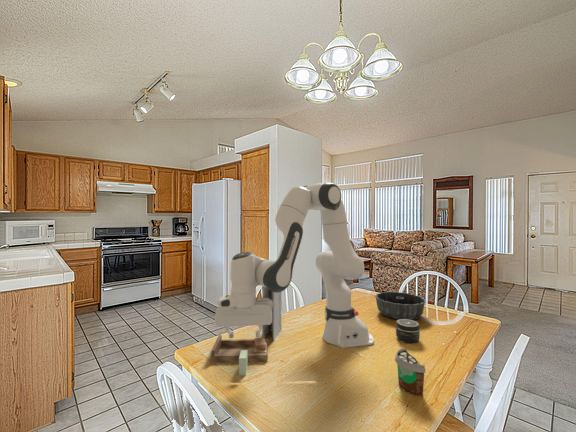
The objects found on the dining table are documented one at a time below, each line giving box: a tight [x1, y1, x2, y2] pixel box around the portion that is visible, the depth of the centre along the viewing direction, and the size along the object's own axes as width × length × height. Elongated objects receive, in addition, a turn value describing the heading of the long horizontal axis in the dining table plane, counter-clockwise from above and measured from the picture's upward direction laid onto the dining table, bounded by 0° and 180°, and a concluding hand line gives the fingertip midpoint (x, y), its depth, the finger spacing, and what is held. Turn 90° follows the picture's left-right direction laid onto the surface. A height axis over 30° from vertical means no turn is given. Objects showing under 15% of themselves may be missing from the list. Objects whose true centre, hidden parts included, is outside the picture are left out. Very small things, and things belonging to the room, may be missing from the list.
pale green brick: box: [238, 350, 249, 376], centre depth 102 cm, size 2×6×6 cm, turn 3°
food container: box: [394, 347, 426, 397], centre depth 94 cm, size 12×6×10 cm, turn 5°
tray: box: [210, 334, 269, 364], centre depth 115 cm, size 21×14×5 cm, turn 92°
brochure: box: [261, 286, 282, 342], centre depth 134 cm, size 14×6×30 cm, turn 168°
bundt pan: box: [374, 291, 427, 321], centre depth 161 cm, size 26×26×10 cm
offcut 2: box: [254, 343, 267, 354], centre depth 116 cm, size 5×8×2 cm, turn 2°
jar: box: [395, 318, 421, 345], centre depth 129 cm, size 10×10×8 cm
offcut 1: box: [254, 337, 266, 351], centre depth 116 cm, size 4×6×2 cm, turn 10°
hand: (244, 337), depth 103 cm, fingers open, 8 cm apart
